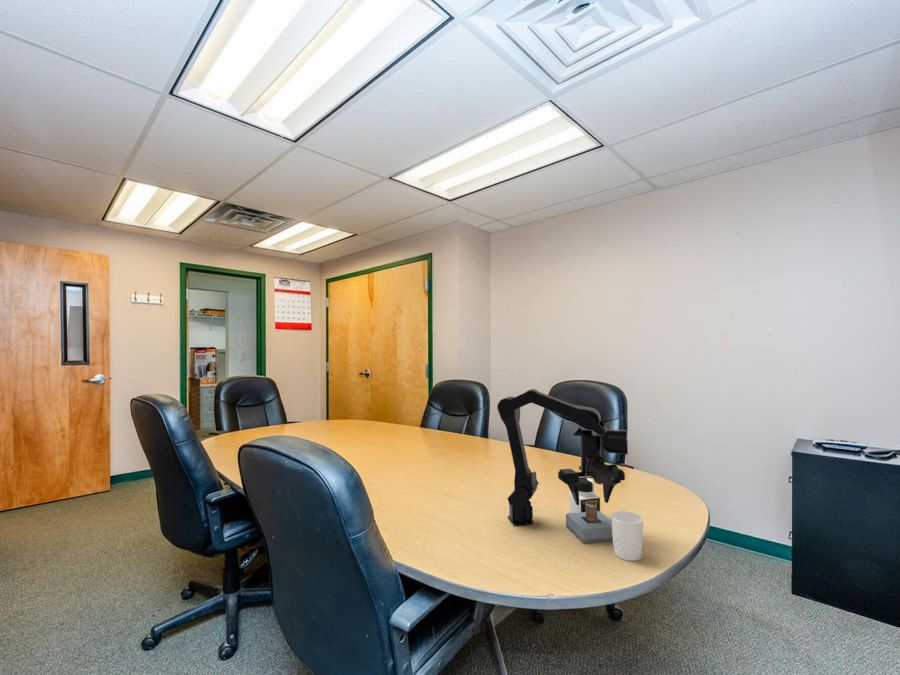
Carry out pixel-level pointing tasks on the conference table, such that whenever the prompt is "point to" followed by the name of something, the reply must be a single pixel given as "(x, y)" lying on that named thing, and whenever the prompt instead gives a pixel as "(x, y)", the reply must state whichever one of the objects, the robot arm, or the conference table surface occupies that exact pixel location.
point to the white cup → (627, 535)
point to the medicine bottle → (584, 496)
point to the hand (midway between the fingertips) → (591, 503)
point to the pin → (591, 512)
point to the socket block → (589, 527)
